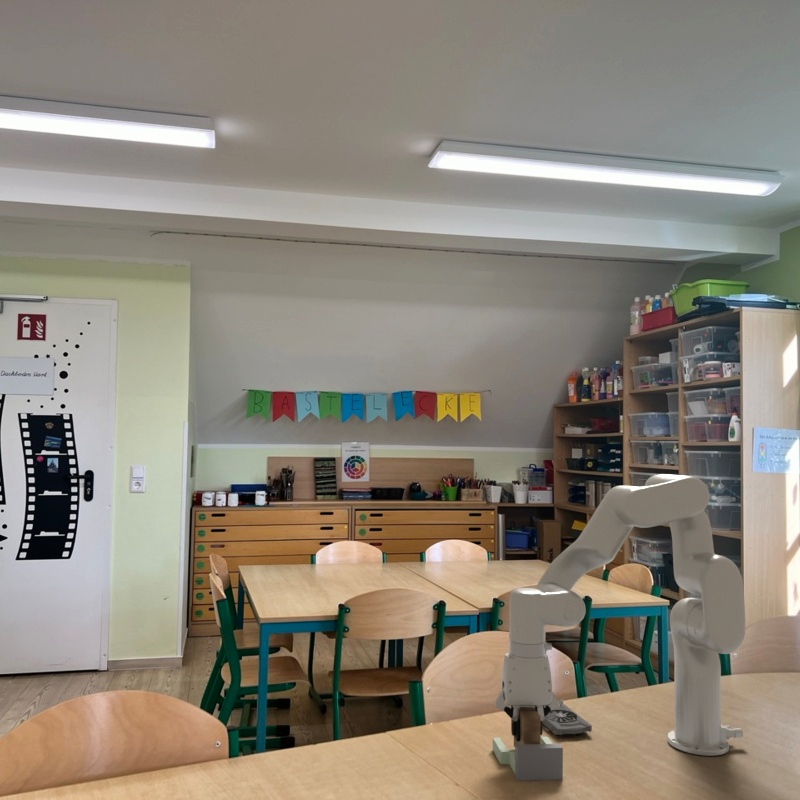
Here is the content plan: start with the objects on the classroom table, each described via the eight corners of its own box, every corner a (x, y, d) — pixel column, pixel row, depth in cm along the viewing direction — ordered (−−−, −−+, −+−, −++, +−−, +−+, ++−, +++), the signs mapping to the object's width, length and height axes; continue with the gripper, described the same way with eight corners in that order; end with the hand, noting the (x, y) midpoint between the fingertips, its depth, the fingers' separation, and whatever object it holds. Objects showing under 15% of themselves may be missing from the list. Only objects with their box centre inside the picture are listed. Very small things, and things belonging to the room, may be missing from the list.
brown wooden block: (529, 745, 159) (530, 702, 159) (540, 761, 151) (540, 716, 151) (513, 745, 158) (514, 702, 159) (523, 761, 150) (523, 716, 151)
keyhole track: (547, 748, 160) (547, 719, 160) (570, 779, 145) (570, 747, 145) (492, 749, 159) (492, 720, 159) (510, 780, 144) (510, 749, 144)
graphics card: (517, 701, 181) (562, 697, 183) (517, 717, 180) (562, 713, 183) (546, 727, 164) (596, 722, 167) (547, 745, 164) (596, 740, 167)
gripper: (559, 644, 161) (559, 731, 159) (484, 644, 159) (483, 732, 158) (571, 653, 153) (571, 745, 152) (492, 654, 152) (491, 746, 150)
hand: (526, 737), depth 155 cm, fingers closed on brown wooden block, 3 cm apart
